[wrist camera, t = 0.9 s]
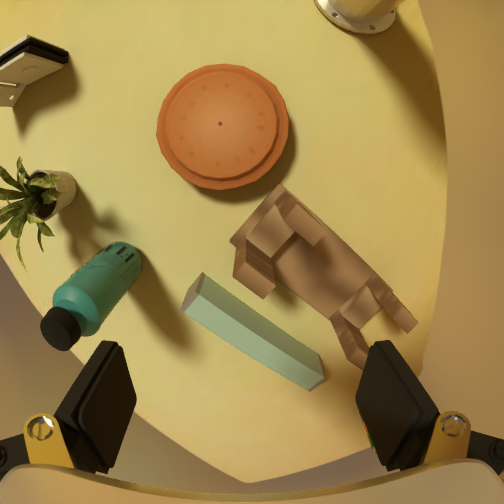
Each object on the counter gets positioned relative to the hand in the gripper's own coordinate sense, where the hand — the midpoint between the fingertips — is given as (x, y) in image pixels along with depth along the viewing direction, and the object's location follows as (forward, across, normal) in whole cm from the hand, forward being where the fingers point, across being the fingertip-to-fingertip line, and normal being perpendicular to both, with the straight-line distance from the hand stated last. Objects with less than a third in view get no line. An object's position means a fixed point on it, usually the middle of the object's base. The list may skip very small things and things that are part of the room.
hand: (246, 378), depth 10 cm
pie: (+30, +3, -12) cm, 32 cm away
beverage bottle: (+31, +17, +6) cm, 36 cm away
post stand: (+30, -11, +7) cm, 32 cm away
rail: (+31, -2, +17) cm, 35 cm away
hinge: (+30, +34, -25) cm, 51 cm away
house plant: (+30, +27, -4) cm, 41 cm away
